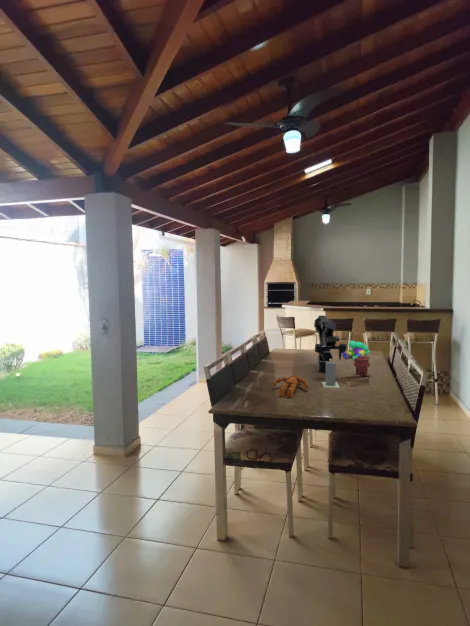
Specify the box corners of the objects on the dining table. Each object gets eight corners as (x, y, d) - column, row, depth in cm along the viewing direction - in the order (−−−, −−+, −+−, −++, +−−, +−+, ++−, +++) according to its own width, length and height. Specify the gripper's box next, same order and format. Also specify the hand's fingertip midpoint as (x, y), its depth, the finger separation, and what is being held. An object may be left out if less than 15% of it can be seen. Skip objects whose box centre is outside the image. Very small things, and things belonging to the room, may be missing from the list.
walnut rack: (342, 383, 246) (342, 376, 246) (358, 381, 250) (359, 374, 250) (351, 386, 237) (351, 380, 237) (368, 384, 241) (369, 378, 241)
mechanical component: (368, 374, 267) (370, 378, 257) (352, 373, 269) (354, 377, 259) (369, 355, 266) (371, 358, 256) (353, 354, 268) (354, 358, 258)
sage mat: (321, 382, 248) (321, 381, 248) (336, 382, 247) (336, 381, 247) (323, 387, 237) (323, 387, 237) (339, 387, 236) (339, 387, 236)
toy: (304, 401, 216) (312, 384, 244) (304, 388, 215) (312, 372, 243) (267, 398, 222) (279, 382, 251) (267, 385, 222) (279, 370, 250)
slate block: (325, 383, 245) (325, 358, 243) (334, 383, 244) (334, 358, 243) (326, 385, 240) (326, 360, 238) (335, 385, 239) (335, 360, 238)
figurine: (347, 363, 309) (374, 358, 309) (344, 344, 308) (371, 340, 307) (341, 358, 328) (366, 354, 327) (339, 340, 326) (364, 336, 326)
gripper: (315, 331, 251) (318, 353, 242) (346, 330, 251) (350, 353, 242) (313, 340, 261) (316, 362, 251) (343, 340, 260) (347, 362, 251)
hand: (332, 359), depth 249 cm, fingers open, 9 cm apart
